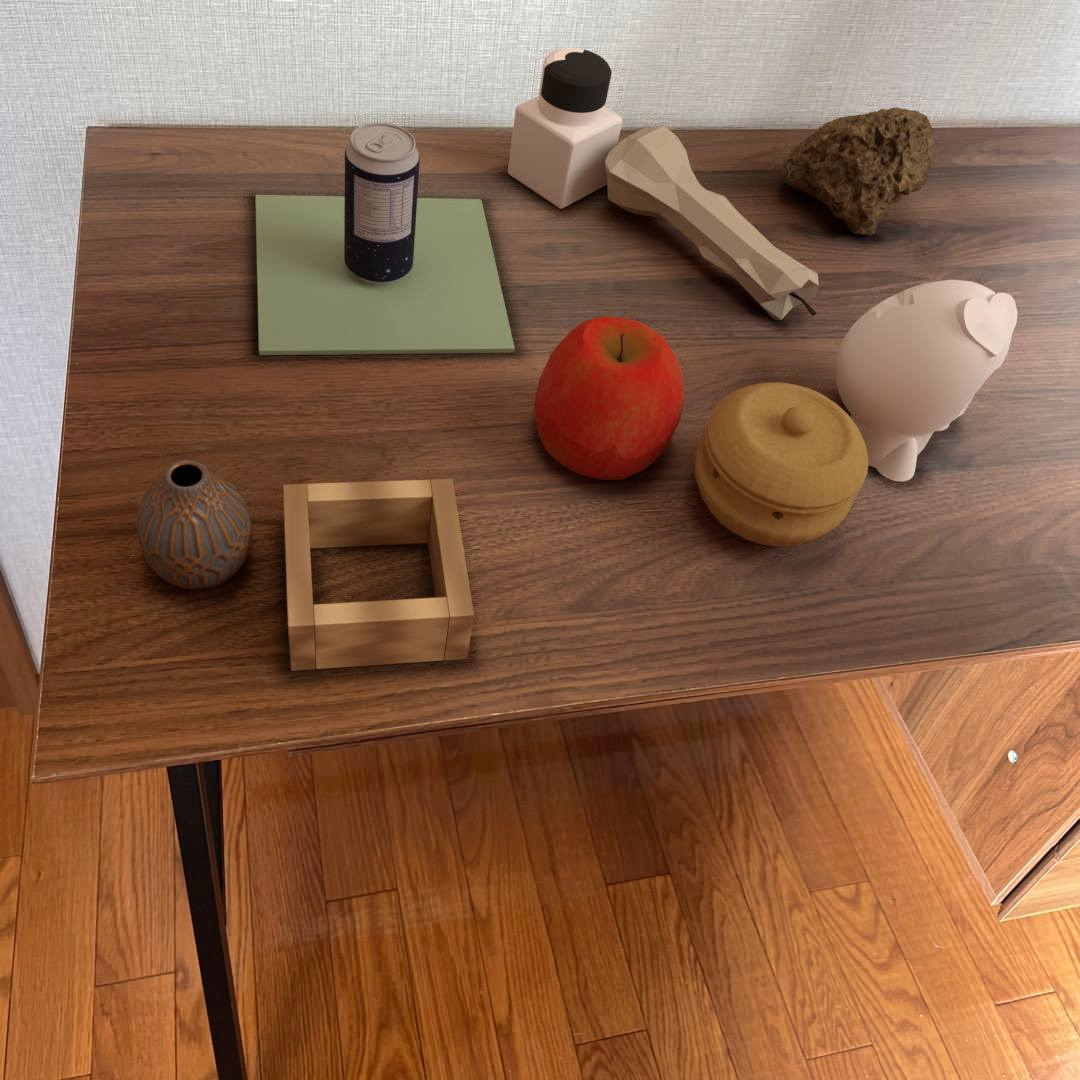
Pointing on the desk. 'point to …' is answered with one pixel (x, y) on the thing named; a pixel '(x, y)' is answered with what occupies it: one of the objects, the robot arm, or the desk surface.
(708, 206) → the faceted club
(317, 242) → the mat
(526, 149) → the medicine bottle
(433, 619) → the holder
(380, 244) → the beverage can
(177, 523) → the vase
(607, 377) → the apple
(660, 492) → the desk surface
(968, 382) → the figurine
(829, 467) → the pot
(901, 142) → the brown porous lump
